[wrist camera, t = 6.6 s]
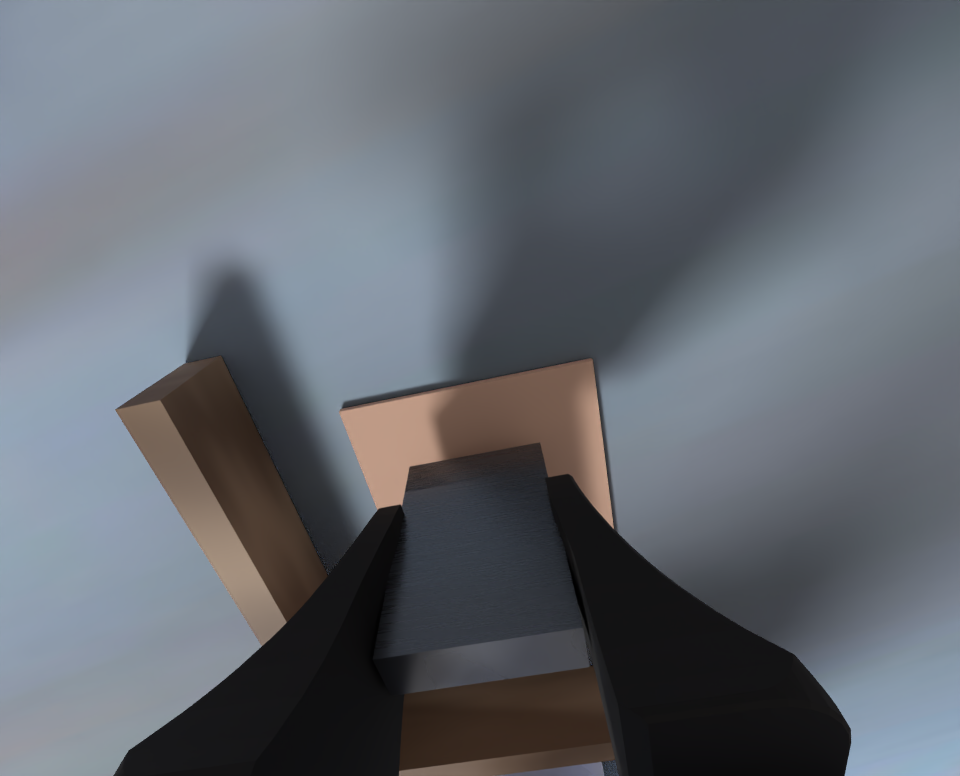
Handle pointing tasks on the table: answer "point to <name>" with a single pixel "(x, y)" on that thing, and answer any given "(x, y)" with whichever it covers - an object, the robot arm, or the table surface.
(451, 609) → the angle bracket
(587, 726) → the corner walls
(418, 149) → the table surface
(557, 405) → the mat
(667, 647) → the robot arm
